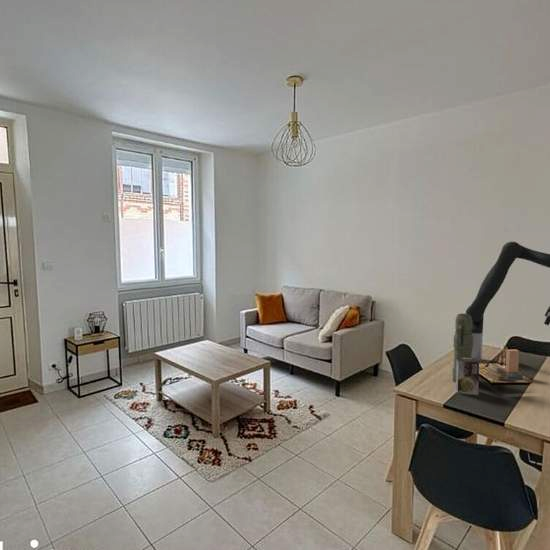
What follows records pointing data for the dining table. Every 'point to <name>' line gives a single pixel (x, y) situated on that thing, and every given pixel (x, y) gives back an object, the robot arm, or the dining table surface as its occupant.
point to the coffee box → (467, 375)
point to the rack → (512, 377)
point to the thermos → (462, 339)
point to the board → (512, 360)
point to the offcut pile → (497, 371)
